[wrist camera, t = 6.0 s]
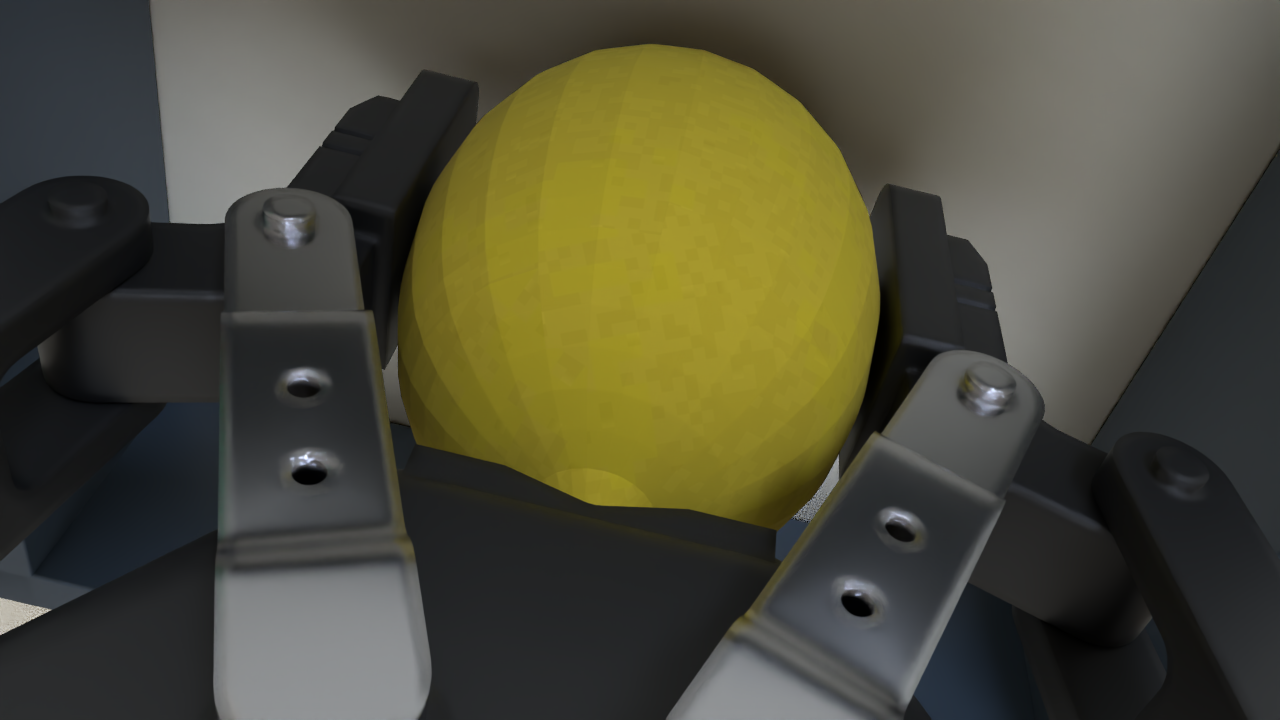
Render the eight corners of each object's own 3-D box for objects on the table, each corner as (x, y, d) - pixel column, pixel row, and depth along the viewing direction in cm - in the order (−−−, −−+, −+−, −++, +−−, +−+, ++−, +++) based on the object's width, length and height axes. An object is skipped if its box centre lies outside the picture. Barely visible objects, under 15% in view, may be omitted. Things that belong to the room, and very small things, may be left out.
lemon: (750, 349, 18) (711, 785, 12) (446, 203, 17) (231, 594, 11) (949, 76, 15) (1035, 483, 9) (585, -123, 14) (390, 175, 8)
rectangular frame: (146, 393, 21) (-11, 596, 17) (6, -731, 11) (-435, -860, 7) (1033, 605, 21) (1079, 853, 17) (1655, -312, 11) (2084, -218, 8)
